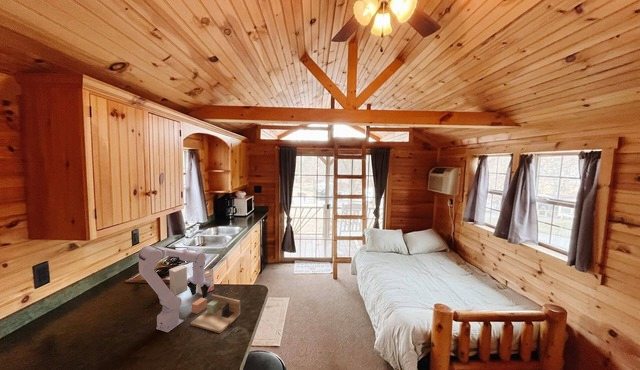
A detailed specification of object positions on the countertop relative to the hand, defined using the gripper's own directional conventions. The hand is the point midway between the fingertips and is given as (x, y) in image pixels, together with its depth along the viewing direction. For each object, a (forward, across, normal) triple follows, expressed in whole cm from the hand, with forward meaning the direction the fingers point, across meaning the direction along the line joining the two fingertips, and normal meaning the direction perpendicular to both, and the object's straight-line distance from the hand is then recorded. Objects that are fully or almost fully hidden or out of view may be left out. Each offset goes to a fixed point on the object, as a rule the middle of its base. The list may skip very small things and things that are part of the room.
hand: (199, 295), depth 139 cm
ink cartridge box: (+8, +12, -17) cm, 22 cm away
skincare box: (+8, +28, -11) cm, 31 cm away
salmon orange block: (+8, 0, 0) cm, 8 cm away
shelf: (+8, -15, +4) cm, 18 cm away
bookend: (+7, -19, 0) cm, 21 cm away
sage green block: (+7, -10, 0) cm, 12 cm away
